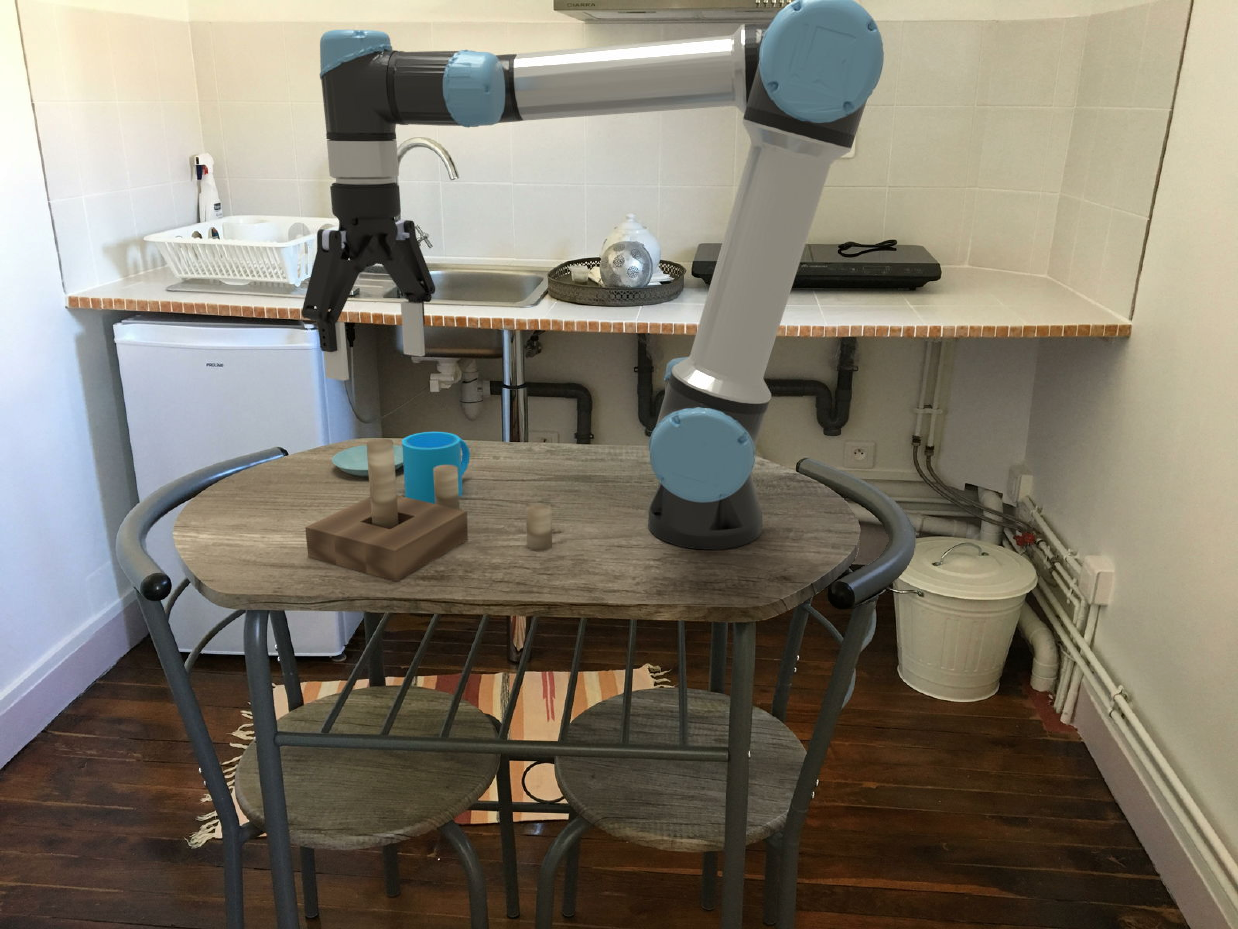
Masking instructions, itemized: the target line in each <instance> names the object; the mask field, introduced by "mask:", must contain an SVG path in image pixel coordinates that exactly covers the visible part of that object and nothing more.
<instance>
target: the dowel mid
mask: <svg viewBox="0 0 1238 929" xmlns="http://www.w3.org/2000/svg"><path fill="white" fill-rule="evenodd" d="M433 472H434V490H435V504H438V505H442V506H446V507H451V508H455V509H459V510H460V497H459V489H458V468H457V467H456V466H454V465H439V466H436V467H435V468H434V469H433Z"/></svg>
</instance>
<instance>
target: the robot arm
mask: <svg viewBox="0 0 1238 929" xmlns="http://www.w3.org/2000/svg"><path fill="white" fill-rule="evenodd" d="M882 38H883V37H882V35H881V32H880V30H879V27H878V25H877V23H876V21H875V20H874V18H873V17H872V15H871V14H870V13H869V12H868V10H866V9H865V8H864V7H863V6H862V5H861V4H859V3H858V2H857V1H855V0H794V1H792V2H790V3H788V4H786V6H785V7H784V8H782V9H781V10H780V11H779V12H778V13H777V14H776V16H775V17H774V18H773V19H771V20H768V21H764V22H763V21H762V22H757V23H746V24H741V25H740V26H739V27H738V29H737V30H736V31H735V32H733V34H730V35H721V36H719V35H718V36H707V37H697V38H696V37H695V38H687V39H683V38H682V39H675V40H674V39H673V40H664V41H663V40H662V41H650V42H649V41H648V42H638V43H628V44H616V45H615V44H613V45H603V46H594V47H580V48H569V49H556V50H546V51H545V50H544V51H532V52H523V53H522V52H521V53H511V54H510V53H506V54H498V55H497V54H496V55H495V54H494V53H491V52H488V51H476V50H468V49H461V50H433V51H426V50H425V51H404V50H395V49H394V50H393V46H392V45H391V44H392V43H391V37H390V36H389V35H388V34H387V32H385V31H380V30H373V29H372V30H371V29H370V30H369V29H357V30H355V29H332V30H328V31H325V32H324V33H323V34H322V36H321V37H320V41H319V58H320V60H319V61H320V73H319V80H320V82H321V92H322V102H323V103H322V104H323V110H324V112H323V113H324V121H325V122H324V123H325V132H326V133H325V136H326V146H327V147H326V148H327V159H328V160H327V161H328V171H329V176H330V178H333V179H335V182H333V183H331V185H330V186H329V188H330V199H331V212H332V215H333V216H334V217H335V218H337V219H338V229H337V230H333V229H324V228H323V229H321V228H320V229H318V230H317V233H316V254H315V257H314V261H313V265H312V269H311V274H310V278H309V281H308V286H307V290H306V293H305V296H304V297H305V298H304V301H303V305H302V308H301V316H302V318H303V319H309V320H310V321H313V322H316V323H317V327H318V336H319V337H318V338H319V347H320V350H321V352H323V357H324V358H323V359H324V370H325V378H326V379H332V380H338V381H342V382H343V381H347V380H349V379H350V377H349V376H350V375H349V365H348V364H349V363H348V353H347V352H348V351H347V340H346V339H347V338H346V329H345V322H344V321H339V319H340V316H341V314H342V312H343V310H344V308H345V305H346V303H347V301H348V299H349V296H350V295H351V293H352V290H353V288H354V286H355V283H356V281H357V279H358V276H359V274H360V273H362V272H364V271H365V269H366V268H370V267H373V266H375V265H382V267H383V268H384V270H385V271H386V272H387V274H388V275H389V276H390V278H391V280H392V281H393V282H394V284H395V285H396V287H397V288H398V290H399V291H400V293H401V294H402V295H403V297H404V298H405V300H403V301H400V312H401V328H402V330H401V331H402V344H403V345H402V347H403V354H404V355H408V356H415V357H424V356H425V355H426V352H425V351H426V350H425V349H426V348H425V335H424V334H425V333H424V331H425V330H424V329H425V328H424V327H425V323H426V321H425V303H430V302H431V301H432V298H433V297H432V295H434V294H435V292H436V286H435V282H434V281H433V277H432V275H431V273H430V270H429V268H428V265H427V262H426V260H425V257H424V254H423V253H422V252H423V251H422V250H421V247H420V245H419V240H418V239H417V233H416V226H415V221H413V220H412V219H411V220H410V219H397V218H396V217H398V216H399V215H400V214H401V194H400V186H399V185H398V183H397V182H395V180H394V179H396V178H397V177H398V176H400V171H399V170H400V169H399V160H398V159H399V158H398V157H399V156H398V144H397V143H398V142H397V133H396V127H397V126H396V125H400V126H408V125H416V126H439V127H440V126H442V127H444V126H447V127H456V126H457V127H464V128H468V129H469V128H470V127H471V128H478V127H480V126H494V125H496V124H502V123H503V124H504V123H516V122H524V121H538V120H539V121H540V120H553V119H564V118H567V119H568V118H580V117H592V116H593V117H595V116H607V115H608V116H609V115H620V114H621V115H625V114H637V113H639V114H640V113H650V112H651V113H653V112H663V111H679V110H681V111H682V110H693V109H696V110H697V109H707V108H720V107H721V108H722V107H736V108H737V109H738V110H739V111H740V112H742V114H743V118H742V120H741V121H742V124H743V126H744V129H745V130H746V132H747V134H748V137H749V138H750V146H749V150H748V153H747V157H746V159H745V160H746V161H745V164H744V166H743V170H742V174H741V178H740V180H739V184H738V188H737V192H736V195H735V198H734V201H733V206H732V208H731V213H730V216H729V220H728V223H727V226H726V230H725V233H724V236H723V240H722V243H721V247H720V251H719V253H718V254H719V255H718V256H717V261H716V265H715V267H714V271H713V274H712V278H711V281H710V285H709V289H708V292H707V295H706V299H705V303H704V305H703V309H702V312H701V316H700V320H699V323H698V327H697V329H696V333H695V337H694V341H693V343H692V347H691V350H690V355H689V356H685V357H684V356H683V357H677V358H673V359H671V360H670V361H668V363H667V364H666V367H665V369H666V370H665V375H664V377H663V382H664V383H665V387H664V388H665V390H664V392H665V393H664V396H663V400H662V404H661V406H660V407H661V408H660V411H659V414H658V418H657V420H656V425H655V428H654V429H653V430H652V432H651V435H650V438H649V442H648V450H649V452H648V454H649V461H650V466H651V469H652V471H653V474H654V476H655V477H656V479H657V480H658V484H657V487H656V490H655V492H654V494H653V497H652V500H651V501H650V502H651V503H650V505H649V508H648V509H649V510H648V529H649V531H650V532H651V534H653V536H655V537H656V538H658V539H660V540H662V541H664V542H666V543H669V544H672V545H674V546H679V547H682V548H688V549H689V548H690V549H697V550H726V549H732V548H733V549H734V548H737V547H741V546H745V545H748V544H750V543H753V542H754V541H755V540H757V539H758V538H759V537H760V535H761V534H762V531H763V530H762V528H763V511H762V509H761V505H760V504H761V503H760V502H759V501H760V500H759V497H758V493H757V490H756V486H755V483H754V478H753V474H752V473H753V468H754V467H755V462H756V457H755V456H756V450H755V449H756V445H757V442H758V438H759V436H760V432H761V429H762V427H763V422H764V419H765V417H766V414H767V412H768V407H769V404H770V401H771V400H772V393H771V391H770V389H769V388H768V385H767V383H766V382H765V380H764V376H765V374H766V373H765V372H766V369H767V366H768V363H769V360H770V358H771V357H770V356H771V354H772V350H773V348H774V344H775V342H776V338H777V335H778V332H779V328H780V326H781V322H782V319H783V316H784V313H785V310H786V306H787V303H788V300H789V297H790V294H791V291H792V287H793V285H794V281H795V278H796V275H797V272H798V269H799V266H800V263H801V260H802V257H803V252H804V250H805V247H806V244H807V241H808V237H809V234H810V230H811V228H812V225H813V221H814V218H815V216H816V212H817V209H818V206H819V202H820V199H821V196H822V193H823V190H824V187H825V184H826V181H827V178H828V174H829V171H830V168H831V165H832V164H833V163H834V162H835V161H836V160H838V159H840V158H841V157H843V156H846V155H847V154H849V153H851V151H852V147H853V144H854V141H855V140H856V139H855V138H856V137H857V132H858V129H859V126H860V123H861V120H862V117H863V113H864V110H865V108H866V104H867V101H868V99H869V98H870V96H872V94H873V91H874V90H875V89H876V87H877V86H878V84H879V81H880V79H881V75H882V71H883V67H884V58H885V53H884V47H883V46H884V43H883V39H882ZM395 218H396V219H395ZM315 307H316V308H315Z"/></svg>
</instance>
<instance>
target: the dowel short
mask: <svg viewBox="0 0 1238 929" xmlns="http://www.w3.org/2000/svg"><path fill="white" fill-rule="evenodd" d="M552 512H553V511H552V507H550V506H549V505H545V504H535V505H530V506H528V507H527V508H526V509H525V515H526V517H525V518H526V519H525V521H526V524H525V525H526V548H527V549H528V550H530V551H534V552H544V551H549V550H550V549H551V548H552V547H553V532H552V531H553V529H552V528H553V524H552V523H553V522H552V518H553V516H552V515H553V514H552Z"/></svg>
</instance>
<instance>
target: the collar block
mask: <svg viewBox="0 0 1238 929" xmlns="http://www.w3.org/2000/svg"><path fill="white" fill-rule="evenodd" d="M397 508H398V523H399V525H397V526H396V527H394V528H392V529H387V528H383V527H379V526H375V525H372V513H371V499H370V496H369V497H368V498H365V499H362V500H361V501H359V502H356V503H355V504H352V505H349V506H348V507H345V508H343V509H341V510H339V511H337V512H335V513H333V514H330V515H328V516H327V517H323V519H319V520H317V521H315V522H314V523H311V524H309V525H307V526H305V527H304V529H305V538H306V539H305V540H306V546H307V547H306V549H307V550H306V551H307V557H308V558H309V559H310V558H311V559H315V560H317V561H321V562H324V563H329V564H331V565H336V566H340V567H343V568H347V569H351V570H354V571H358V572H361V573H365V574H367V575H372V576H375V577H379V578H383V579H387V580H389V581H394V582H399V581H400V580H402V579H404V578H406V577H408V576H409V575H411V574H412V573H414V572H416V571H418V570H420V569H421V568H423V567H424V566H426V565H427V564H429V563H431V562H433V561H435V560H436V559H438V558H440V557H441V556H444V555H445V554H446V553H449V552H450V551H451V550H453V549H455V548H457V547H458V546H460V545H461V544H463V543H465V542H466V541H468V540H469V535H468V532H469V531H468V512H467V511H468V510H463V509H460V508H459V509H455V508H451V507H446V506H442V505H438V504H433V503H429V502H424V501H420V500H416V499H411V498H407V497H406V496H402V495H399V494H397Z"/></svg>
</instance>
